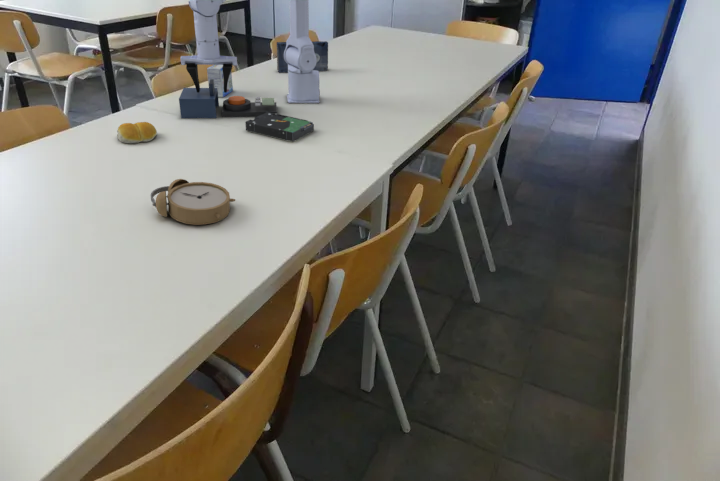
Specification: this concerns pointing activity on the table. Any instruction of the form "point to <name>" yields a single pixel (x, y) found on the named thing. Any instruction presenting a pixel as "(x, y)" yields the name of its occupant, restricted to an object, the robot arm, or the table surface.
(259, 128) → the disk drive
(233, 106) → the control panel
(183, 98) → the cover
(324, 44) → the vhs cassette tape
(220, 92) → the medicine box
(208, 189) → the alarm clock
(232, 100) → the equals key
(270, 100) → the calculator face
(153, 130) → the bread roll
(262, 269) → the table surface
